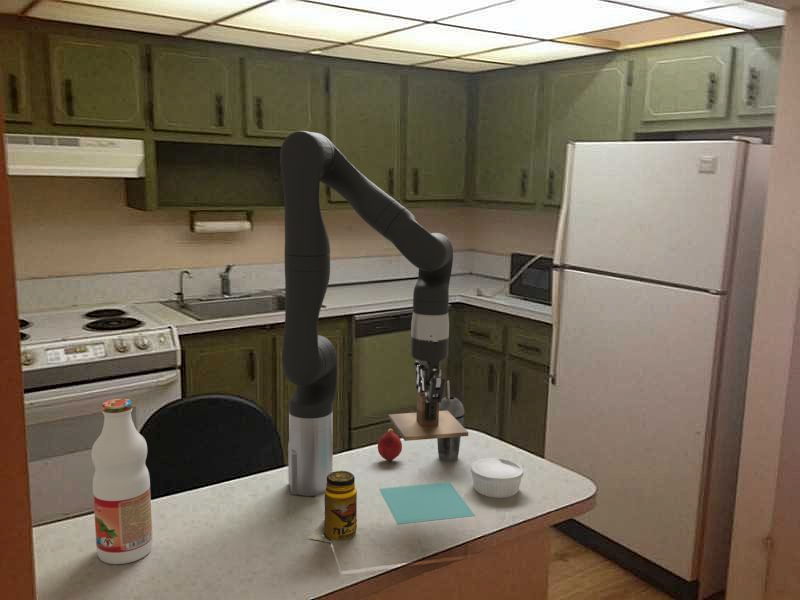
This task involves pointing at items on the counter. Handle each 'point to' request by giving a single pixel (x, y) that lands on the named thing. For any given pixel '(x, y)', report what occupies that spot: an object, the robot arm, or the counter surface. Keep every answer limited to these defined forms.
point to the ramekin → (496, 477)
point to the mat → (425, 503)
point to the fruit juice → (121, 488)
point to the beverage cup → (450, 445)
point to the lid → (426, 423)
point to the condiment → (338, 508)
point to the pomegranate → (389, 446)
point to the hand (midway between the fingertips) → (427, 416)
